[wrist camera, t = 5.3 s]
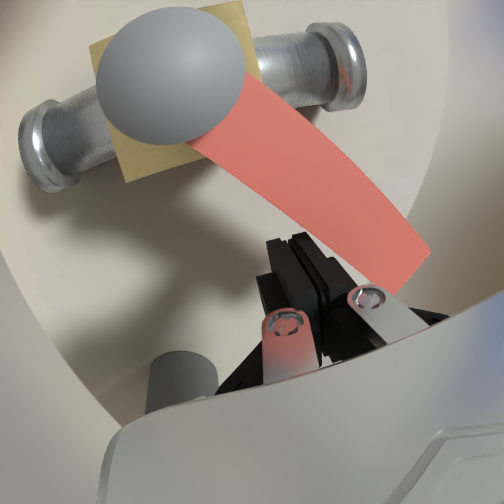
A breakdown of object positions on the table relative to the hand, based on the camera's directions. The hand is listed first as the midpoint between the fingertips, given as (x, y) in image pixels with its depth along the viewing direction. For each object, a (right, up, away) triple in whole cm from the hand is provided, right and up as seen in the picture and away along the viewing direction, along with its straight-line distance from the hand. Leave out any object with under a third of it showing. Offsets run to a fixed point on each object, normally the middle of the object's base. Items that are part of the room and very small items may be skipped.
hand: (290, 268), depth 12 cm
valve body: (-5, +9, +3) cm, 11 cm away
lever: (0, +4, -1) cm, 4 cm away
